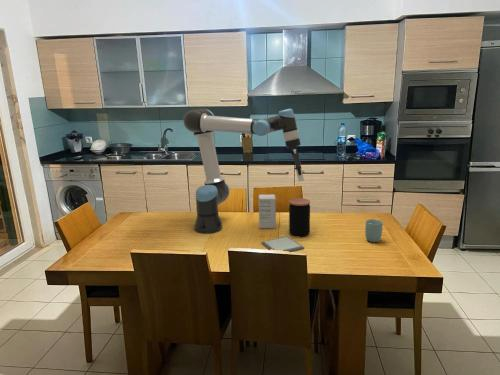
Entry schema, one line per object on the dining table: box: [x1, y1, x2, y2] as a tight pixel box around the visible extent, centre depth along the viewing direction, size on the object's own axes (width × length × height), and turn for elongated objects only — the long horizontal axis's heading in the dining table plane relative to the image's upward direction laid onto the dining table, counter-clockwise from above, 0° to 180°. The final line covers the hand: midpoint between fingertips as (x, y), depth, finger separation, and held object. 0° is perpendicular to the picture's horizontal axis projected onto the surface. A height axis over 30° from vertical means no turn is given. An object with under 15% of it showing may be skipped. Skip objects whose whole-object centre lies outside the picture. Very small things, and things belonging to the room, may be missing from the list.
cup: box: [364, 218, 384, 243], centre depth 181 cm, size 8×8×10 cm
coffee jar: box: [288, 197, 311, 238], centre depth 191 cm, size 11×11×18 cm
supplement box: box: [258, 194, 277, 229], centre depth 205 cm, size 10×9×17 cm
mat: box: [261, 236, 305, 253], centre depth 178 cm, size 15×15×1 cm
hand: (300, 178), depth 194 cm, fingers open, 13 cm apart
